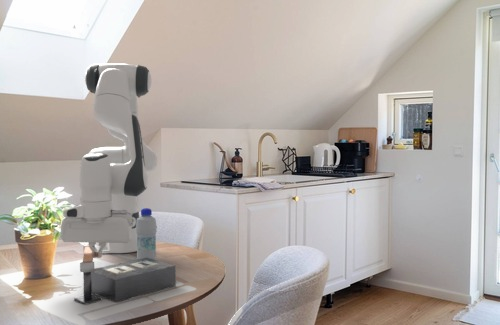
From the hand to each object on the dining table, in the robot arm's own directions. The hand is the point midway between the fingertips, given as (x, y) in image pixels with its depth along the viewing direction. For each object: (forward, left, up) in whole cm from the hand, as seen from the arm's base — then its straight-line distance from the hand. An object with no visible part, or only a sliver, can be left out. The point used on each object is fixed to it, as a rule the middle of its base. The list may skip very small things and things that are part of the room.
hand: (97, 257), depth 149 cm
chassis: (+10, +5, -8) cm, 14 cm away
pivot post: (+10, -9, -8) cm, 15 cm away
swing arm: (0, -3, -1) cm, 3 cm away
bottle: (-4, +20, -9) cm, 23 cm away
